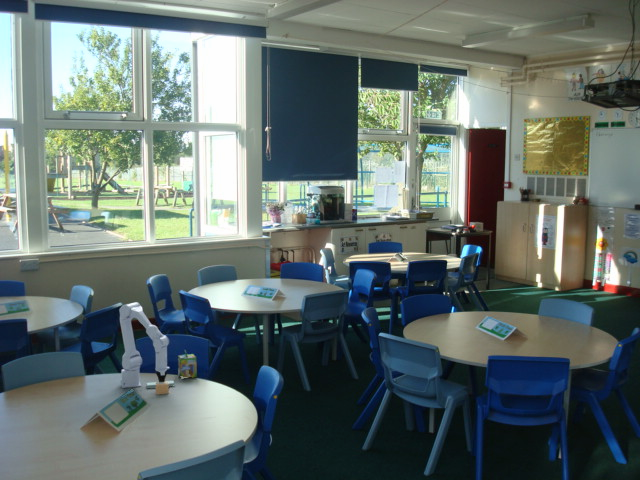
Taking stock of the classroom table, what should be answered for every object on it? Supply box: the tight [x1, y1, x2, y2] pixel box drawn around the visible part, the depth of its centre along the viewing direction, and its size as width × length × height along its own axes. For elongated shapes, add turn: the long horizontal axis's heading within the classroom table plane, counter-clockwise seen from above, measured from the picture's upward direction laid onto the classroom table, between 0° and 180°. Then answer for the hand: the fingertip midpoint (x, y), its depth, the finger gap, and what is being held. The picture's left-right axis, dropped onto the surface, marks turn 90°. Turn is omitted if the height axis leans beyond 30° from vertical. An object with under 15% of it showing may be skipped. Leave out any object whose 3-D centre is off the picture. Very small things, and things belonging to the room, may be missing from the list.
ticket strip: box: [145, 380, 175, 389], centre depth 338 cm, size 14×5×2 cm, turn 109°
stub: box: [155, 380, 170, 395], centre depth 328 cm, size 6×5×5 cm
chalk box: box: [177, 349, 198, 379], centre depth 356 cm, size 9×9×15 cm
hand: (161, 385), depth 331 cm, fingers closed
